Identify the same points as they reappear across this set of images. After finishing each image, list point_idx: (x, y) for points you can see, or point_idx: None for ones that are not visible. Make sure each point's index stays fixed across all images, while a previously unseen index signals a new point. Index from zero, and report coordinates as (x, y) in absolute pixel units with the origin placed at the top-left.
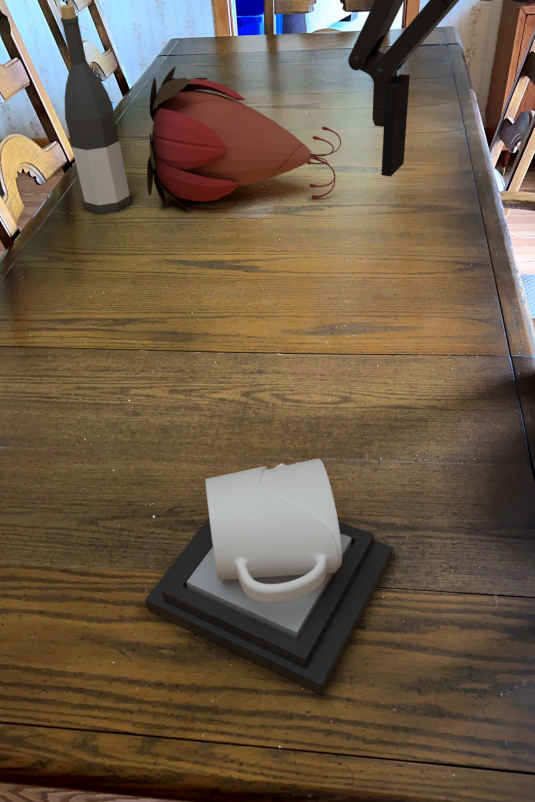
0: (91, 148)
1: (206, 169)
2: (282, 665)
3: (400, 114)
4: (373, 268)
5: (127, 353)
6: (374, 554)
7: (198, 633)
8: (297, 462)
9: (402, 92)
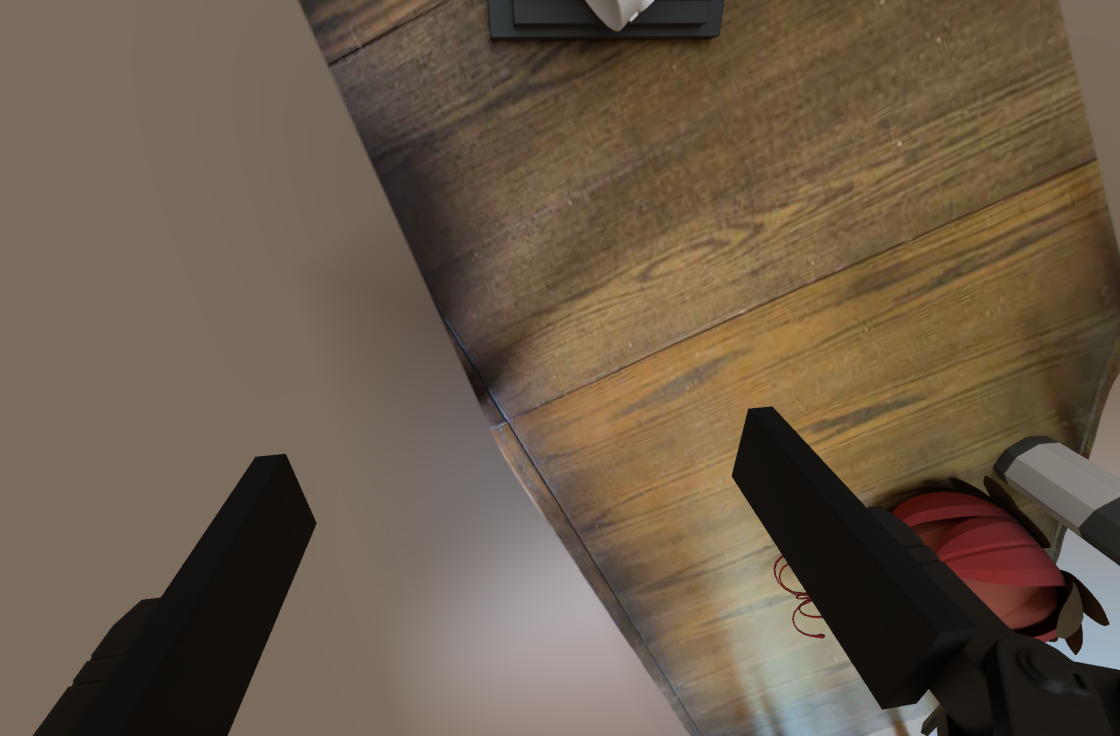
0: (1116, 500)
1: (938, 530)
2: None
3: (827, 561)
4: (689, 482)
5: (926, 225)
6: (505, 9)
7: None
8: (648, 3)
9: (873, 632)
